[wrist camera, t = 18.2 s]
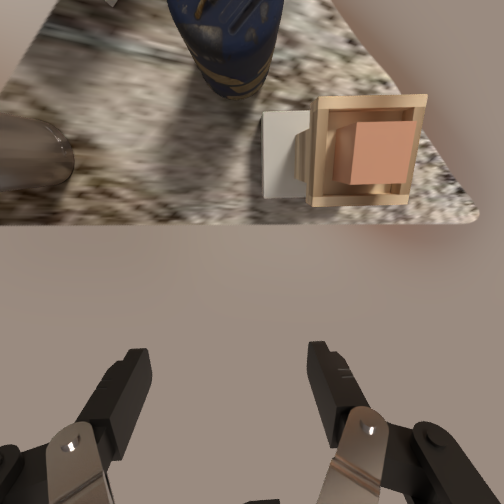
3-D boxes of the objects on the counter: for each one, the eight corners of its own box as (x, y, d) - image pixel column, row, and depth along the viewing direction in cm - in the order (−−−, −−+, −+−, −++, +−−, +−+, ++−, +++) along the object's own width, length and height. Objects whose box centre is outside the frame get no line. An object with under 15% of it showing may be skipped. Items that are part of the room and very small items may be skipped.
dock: (261, 194, 41) (264, 198, 36) (260, 117, 37) (263, 111, 32) (348, 191, 41) (361, 195, 36) (355, 115, 37) (371, 108, 32)
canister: (281, 78, 35) (314, 3, 18) (224, 116, 37) (205, 79, 20) (246, 2, 32) (247, -170, 15) (185, 47, 34) (126, -66, 17)
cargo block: (332, 180, 22) (350, 184, 18) (336, 129, 20) (357, 122, 17) (378, 179, 22) (405, 183, 18) (385, 128, 20) (416, 121, 17)
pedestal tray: (284, 187, 36) (312, 207, 21) (286, 124, 33) (318, 96, 18) (341, 186, 36) (407, 204, 21) (347, 123, 33) (427, 94, 18)
